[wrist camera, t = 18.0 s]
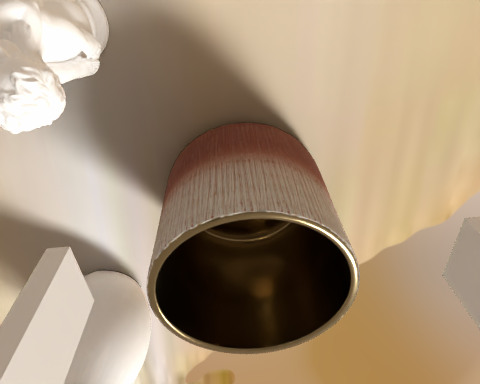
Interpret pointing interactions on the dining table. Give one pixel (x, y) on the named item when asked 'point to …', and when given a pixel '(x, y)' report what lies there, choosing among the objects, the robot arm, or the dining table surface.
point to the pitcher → (112, 332)
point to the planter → (249, 245)
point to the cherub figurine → (45, 56)
